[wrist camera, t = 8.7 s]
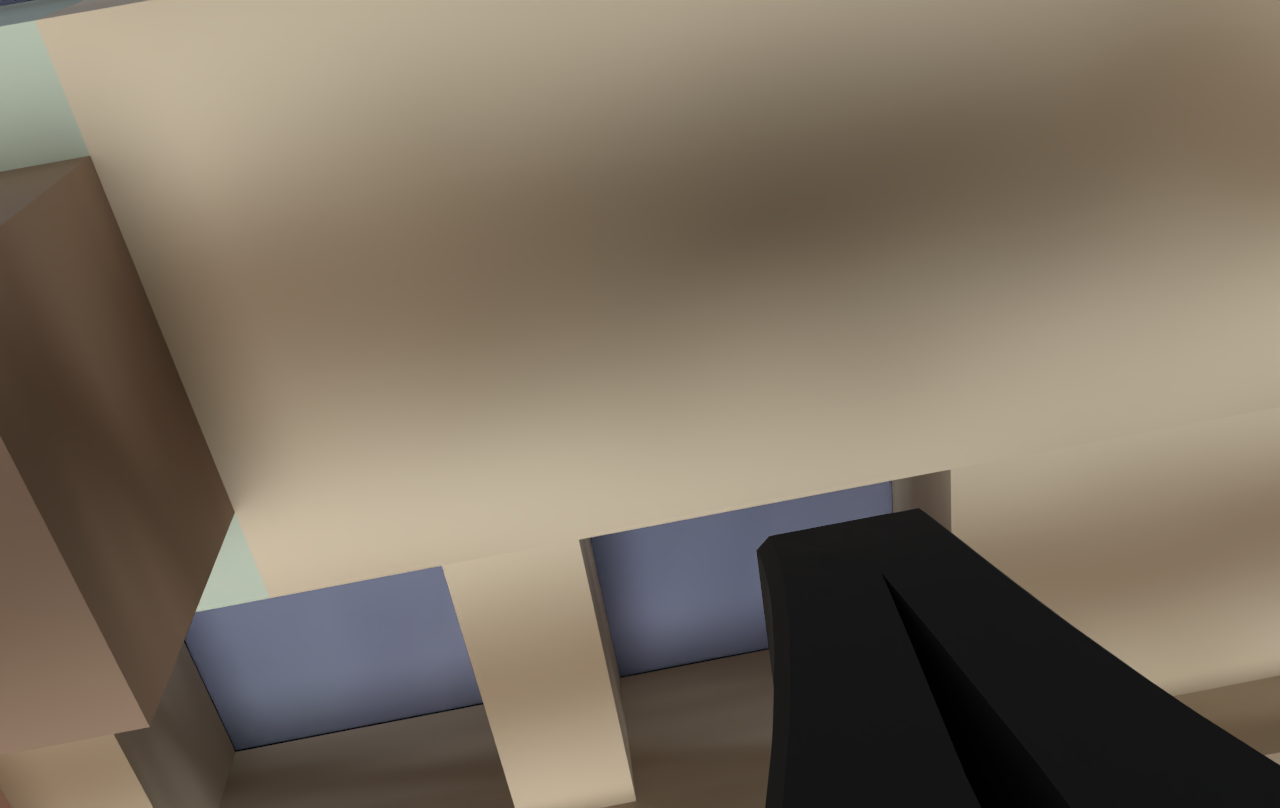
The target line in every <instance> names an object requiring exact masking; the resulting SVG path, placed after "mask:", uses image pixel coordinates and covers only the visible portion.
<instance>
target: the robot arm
mask: <svg viewBox="0 0 1280 808" xmlns="http://www.w3.org/2000/svg"><path fill="white" fill-rule="evenodd" d="M757 557H758V565H759V573H760V581H761V589H762V597H763V606H764V614H765V622H766V630H767V638H768V646H769V654H770V662H771V670H772V678H773V686H774V697H773V731H772V746H771V757H770V767H769V776H768V785H767V794H766V803H765V808H1280V765H1279V764H1277V763H1276V762H1274V761H1272V760H1271V759H1269V758H1268V757H1266V756H1265V755H1263V754H1261V753H1260V752H1258V751H1257V750H1255V749H1254V748H1252V747H1250V746H1249V745H1247V744H1246V743H1244V742H1243V741H1241V740H1239V739H1238V738H1236V737H1235V736H1233V735H1232V734H1230V733H1229V732H1227V731H1225V730H1224V729H1222V728H1221V727H1219V726H1218V725H1216V724H1214V723H1213V722H1211V721H1210V720H1208V719H1207V718H1205V717H1203V716H1202V715H1200V714H1199V713H1197V712H1196V711H1194V710H1193V709H1191V708H1190V707H1188V706H1187V705H1185V704H1184V703H1182V702H1181V701H1179V700H1178V699H1176V698H1175V697H1173V696H1172V695H1170V694H1169V693H1167V692H1166V691H1165V690H1163V689H1162V688H1160V687H1159V686H1157V685H1156V684H1154V683H1153V682H1151V681H1150V680H1148V679H1147V678H1146V677H1144V676H1143V675H1141V674H1140V673H1139V672H1137V671H1136V670H1134V669H1133V668H1132V667H1130V666H1129V665H1127V664H1126V663H1124V662H1123V661H1122V660H1120V659H1119V658H1117V657H1116V656H1115V655H1113V654H1112V653H1110V652H1109V651H1108V650H1106V649H1105V648H1103V647H1102V646H1101V645H1099V644H1098V643H1096V642H1095V641H1094V640H1092V639H1091V638H1089V637H1088V636H1087V635H1085V634H1084V633H1082V632H1081V631H1080V630H1078V629H1077V628H1075V627H1074V626H1073V625H1071V624H1070V623H1069V622H1067V621H1066V620H1065V619H1063V618H1062V617H1061V616H1059V615H1058V614H1056V613H1055V612H1054V611H1052V610H1051V609H1050V608H1048V607H1047V606H1046V605H1044V604H1043V603H1042V602H1041V601H1039V600H1038V599H1037V598H1035V597H1034V596H1033V595H1031V594H1030V593H1029V592H1027V591H1026V590H1025V589H1024V588H1022V587H1021V586H1020V585H1018V584H1017V583H1016V582H1014V581H1013V580H1012V579H1010V578H1009V577H1008V576H1007V575H1005V574H1004V573H1003V572H1001V571H1000V570H999V569H998V568H996V567H995V566H994V565H992V564H991V563H990V562H989V561H987V560H986V559H985V558H983V557H982V556H981V555H980V554H978V553H977V552H976V551H975V550H973V549H972V548H971V547H969V546H968V545H967V544H966V543H964V542H963V541H962V540H960V539H959V538H958V537H957V536H955V535H954V534H953V533H952V532H950V531H949V530H948V529H946V528H945V527H944V526H943V525H941V524H940V523H939V522H937V521H936V520H935V519H933V518H932V517H931V516H929V515H928V514H927V513H925V512H924V511H922V510H921V509H920V508H916V509H911V510H906V511H900V512H895V513H890V514H885V515H879V516H874V517H869V518H863V519H858V520H853V521H847V522H842V523H837V524H832V525H826V526H821V527H816V528H810V529H805V530H800V531H794V532H789V533H784V534H779V535H773V536H769V537H768V538H767V539H766V541H765V542H764V543H763V544H762V545H761V546H760V547H759V549H758V550H757Z"/></svg>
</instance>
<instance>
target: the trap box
mask: <svg viewBox="0 0 1280 808" xmlns="http://www.w3.org/2000/svg"><path fill="white" fill-rule="evenodd" d="M86 156H90V157H91V159H92V162H93V164H94V166H95V169H96V171H97V174H98V176H99V179H100V181H101V184H102V186H103V189H104V191H105V194H106V196H107V198H108V201H109V203H110V206H111V208H112V211H113V213H114V216H115V218H116V221H117V223H118V226H119V228H120V231H121V233H122V235H123V238H124V240H125V243H126V245H127V248H128V250H129V253H130V255H131V258H132V260H133V263H134V265H135V267H136V270H137V272H138V275H139V277H140V280H141V282H142V285H143V287H144V290H145V292H146V295H147V297H148V299H149V302H150V304H151V307H152V309H153V312H154V314H155V317H156V319H157V322H158V324H159V327H160V329H161V331H162V334H163V336H164V339H165V341H166V344H167V346H168V349H169V351H170V354H171V356H172V359H173V361H174V364H175V366H176V368H177V371H178V373H179V376H180V378H181V381H182V383H183V386H184V388H185V391H186V393H187V396H188V398H189V400H190V403H191V405H192V408H193V410H194V413H195V415H196V418H197V420H198V423H199V425H200V428H201V430H202V432H203V435H204V437H205V440H206V442H207V445H208V447H209V450H210V452H211V455H212V457H213V460H214V462H215V464H216V467H217V469H218V472H219V474H220V477H221V479H222V482H223V484H224V487H225V489H226V492H227V494H228V497H229V499H230V501H231V504H232V506H233V509H234V511H235V514H234V516H233V519H232V521H231V524H230V526H229V529H228V531H227V534H226V536H225V539H224V541H223V544H222V546H221V549H220V551H219V554H218V556H217V559H216V562H215V564H214V567H213V569H212V572H211V574H210V577H209V579H208V582H207V584H206V587H205V589H204V592H203V594H202V597H201V599H200V602H199V604H198V607H197V609H196V612H199V611H205V610H210V609H215V608H220V607H226V606H231V605H236V604H242V603H247V602H252V601H257V600H263V599H268V598H273V597H279V596H284V595H289V594H294V593H300V592H305V591H310V590H316V589H321V588H326V587H331V586H337V585H342V584H347V583H353V582H358V581H363V580H368V579H374V578H379V577H384V576H390V575H395V574H400V573H405V572H411V571H416V570H421V569H427V568H432V567H437V566H442V568H443V571H444V574H445V577H446V581H447V584H448V587H449V591H450V594H451V597H452V601H453V604H454V607H455V611H456V614H457V617H458V621H459V624H460V627H461V631H462V634H463V637H464V641H465V644H466V647H467V650H468V654H469V657H470V660H471V664H472V667H473V670H474V674H475V677H476V680H477V684H478V687H479V690H480V694H481V697H482V700H483V704H482V705H477V706H472V707H467V708H462V709H456V710H451V711H446V712H441V713H436V714H430V715H425V716H420V717H415V718H410V719H404V720H399V721H394V722H389V723H384V724H378V725H373V726H368V727H363V728H358V729H352V730H347V731H342V732H337V733H332V734H326V735H321V736H316V737H311V738H306V739H300V740H295V741H290V742H285V743H280V744H274V745H269V746H264V747H259V748H254V749H248V750H243V751H238V752H235V750H234V748H233V746H232V743H231V741H230V739H229V737H228V735H227V733H226V731H225V728H224V726H223V724H222V722H221V720H220V718H219V716H218V713H217V711H216V709H215V707H214V705H213V703H212V701H211V698H210V696H209V694H208V692H207V690H206V688H205V686H204V683H203V681H202V679H201V677H200V675H199V673H198V671H197V668H196V666H195V664H194V662H193V660H192V658H191V656H190V654H189V651H188V649H187V647H186V645H185V643H184V642H183V645H182V647H181V650H180V652H179V655H178V657H177V660H176V662H175V665H174V667H173V670H172V672H171V675H170V677H169V680H168V682H167V685H166V687H165V690H164V692H163V695H162V697H161V700H160V703H159V705H158V708H157V710H156V713H155V715H154V718H153V720H152V723H151V725H150V727H147V728H142V729H137V730H132V731H127V732H121V733H116V734H111V735H106V736H100V737H95V738H90V739H85V740H80V741H74V742H69V743H64V744H59V745H53V746H48V747H43V748H38V749H32V750H27V751H22V752H17V753H12V754H6V755H1V756H0V808H765V803H766V794H767V785H768V776H769V767H770V757H771V746H772V731H773V697H774V686H773V678H772V670H771V662H770V654H769V649H768V650H763V651H758V652H753V653H748V654H742V655H737V656H732V657H727V658H722V659H716V660H711V661H706V662H701V663H696V664H690V665H685V666H680V667H675V668H670V669H664V670H659V671H654V672H649V673H644V674H638V675H633V676H628V677H623V678H620V675H619V671H618V666H617V661H616V657H615V652H614V647H613V643H612V638H611V633H610V629H609V624H608V619H607V615H606V610H605V605H604V601H603V596H602V591H601V587H600V582H599V577H598V573H597V568H596V563H595V559H594V554H593V549H592V545H591V540H590V537H596V536H601V535H606V534H612V533H617V532H622V531H627V530H633V529H638V528H643V527H649V526H654V525H659V524H664V523H670V522H675V521H680V520H686V519H691V518H696V517H701V516H707V515H712V514H717V513H723V512H728V511H733V510H739V509H744V508H749V507H754V506H760V505H765V504H770V503H776V502H781V501H786V500H791V499H797V498H802V497H807V496H813V495H818V494H823V493H828V492H834V491H839V490H844V489H850V488H855V487H860V486H865V485H871V484H876V483H881V482H887V481H892V500H893V513H895V512H900V511H906V510H911V509H916V508H920V509H921V510H922V511H924V512H925V513H927V514H928V515H929V516H931V517H932V518H933V519H935V520H936V521H937V522H939V523H940V524H941V525H943V526H944V527H945V528H946V529H948V530H949V531H950V532H952V533H953V534H954V535H955V536H957V537H958V538H959V539H960V540H962V541H963V542H964V543H966V544H967V545H968V546H969V547H971V548H972V549H973V550H975V551H976V552H977V553H978V554H980V555H981V556H982V557H983V558H985V559H986V560H987V561H989V562H990V563H991V564H992V565H994V566H995V567H996V568H998V569H999V570H1000V571H1001V572H1003V573H1004V574H1005V575H1007V576H1008V577H1009V578H1010V579H1012V580H1013V581H1014V582H1016V583H1017V584H1018V585H1020V586H1021V587H1022V588H1024V589H1025V590H1026V591H1027V592H1029V593H1030V594H1031V595H1033V596H1034V597H1035V598H1037V599H1038V600H1039V601H1041V602H1042V603H1043V604H1044V605H1046V606H1047V607H1048V608H1050V609H1051V610H1052V611H1054V612H1055V613H1056V614H1058V615H1059V616H1061V617H1062V618H1063V619H1065V620H1066V621H1067V622H1069V623H1070V624H1071V625H1073V626H1074V627H1075V628H1077V629H1078V630H1080V631H1081V632H1082V633H1084V634H1085V635H1087V636H1088V637H1089V638H1091V639H1092V640H1094V641H1095V642H1096V643H1098V644H1099V645H1101V646H1102V647H1103V648H1105V649H1106V650H1108V651H1109V652H1110V653H1112V654H1113V655H1115V656H1116V657H1117V658H1119V659H1120V660H1122V661H1123V662H1124V663H1126V664H1127V665H1129V666H1130V667H1132V668H1133V669H1134V670H1136V671H1137V672H1139V673H1140V674H1141V675H1143V676H1144V677H1146V678H1147V679H1148V680H1150V681H1151V682H1153V683H1154V684H1156V685H1157V686H1159V687H1160V688H1162V689H1163V690H1165V691H1166V692H1167V693H1169V694H1170V695H1172V696H1173V697H1175V698H1176V699H1178V700H1179V701H1181V702H1182V703H1184V704H1185V705H1187V706H1188V707H1190V708H1191V709H1193V710H1194V711H1196V712H1197V713H1199V714H1200V715H1202V716H1203V717H1205V718H1207V719H1208V720H1210V721H1211V722H1213V723H1214V724H1216V725H1218V726H1219V727H1221V728H1222V729H1224V730H1225V731H1227V732H1229V733H1230V734H1232V735H1233V736H1235V737H1236V738H1238V739H1239V740H1241V741H1243V742H1244V743H1246V744H1247V745H1249V746H1250V747H1252V748H1254V749H1255V750H1257V751H1258V752H1260V753H1261V754H1263V755H1265V756H1266V757H1268V758H1269V759H1271V760H1272V761H1274V762H1276V763H1277V764H1279V765H1280V0H32V1H26V2H21V3H15V4H9V5H4V6H0V172H2V171H8V170H13V169H19V168H24V167H30V166H35V165H41V164H47V163H52V162H58V161H63V160H69V159H75V158H80V157H86Z"/></svg>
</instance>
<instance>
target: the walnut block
mask: <svg viewBox="0 0 1280 808" xmlns="http://www.w3.org/2000/svg"><path fill="white" fill-rule="evenodd" d="M234 514H235V511H234V509H233V506H232V504H231V501H230V499H229V497H228V494H227V492H226V489H225V487H224V484H223V482H222V479H221V477H220V474H219V472H218V469H217V467H216V464H215V462H214V460H213V457H212V455H211V452H210V450H209V447H208V445H207V442H206V440H205V437H204V435H203V432H202V430H201V428H200V425H199V423H198V420H197V418H196V415H195V413H194V410H193V408H192V405H191V403H190V400H189V398H188V396H187V393H186V391H185V388H184V386H183V383H182V381H181V378H180V376H179V373H178V371H177V368H176V366H175V364H174V361H173V359H172V356H171V354H170V351H169V349H168V346H167V344H166V341H165V339H164V336H163V334H162V331H161V329H160V327H159V324H158V322H157V319H156V317H155V314H154V312H153V309H152V307H151V304H150V302H149V299H148V297H147V295H146V292H145V290H144V287H143V285H142V282H141V280H140V277H139V275H138V272H137V270H136V267H135V265H134V263H133V260H132V258H131V255H130V253H129V250H128V248H127V245H126V243H125V240H124V238H123V235H122V233H121V231H120V228H119V226H118V223H117V221H116V218H115V216H114V213H113V211H112V208H111V206H110V203H109V201H108V198H107V196H106V194H105V191H104V189H103V186H102V184H101V181H100V179H99V176H98V174H97V171H96V169H95V166H94V164H93V162H92V159H91V157H90V156H86V157H80V158H75V159H69V160H63V161H58V162H52V163H47V164H41V165H35V166H30V167H24V168H19V169H13V170H8V171H2V172H0V756H1V755H6V754H12V753H17V752H22V751H27V750H32V749H38V748H43V747H48V746H53V745H59V744H64V743H69V742H74V741H80V740H85V739H90V738H95V737H100V736H106V735H111V734H116V733H121V732H127V731H132V730H137V729H142V728H147V727H150V725H151V723H152V720H153V718H154V715H155V713H156V710H157V708H158V705H159V703H160V700H161V697H162V695H163V692H164V690H165V687H166V685H167V682H168V680H169V677H170V675H171V672H172V670H173V667H174V665H175V662H176V660H177V657H178V655H179V652H180V650H181V647H182V645H183V642H184V640H185V637H186V635H187V632H188V629H189V627H190V624H191V622H192V619H193V617H194V614H195V612H196V609H197V607H198V604H199V602H200V599H201V597H202V594H203V592H204V589H205V587H206V584H207V582H208V579H209V577H210V574H211V572H212V569H213V567H214V564H215V562H216V559H217V556H218V554H219V551H220V549H221V546H222V544H223V541H224V539H225V536H226V534H227V531H228V529H229V526H230V524H231V521H232V519H233V516H234Z"/></svg>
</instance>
